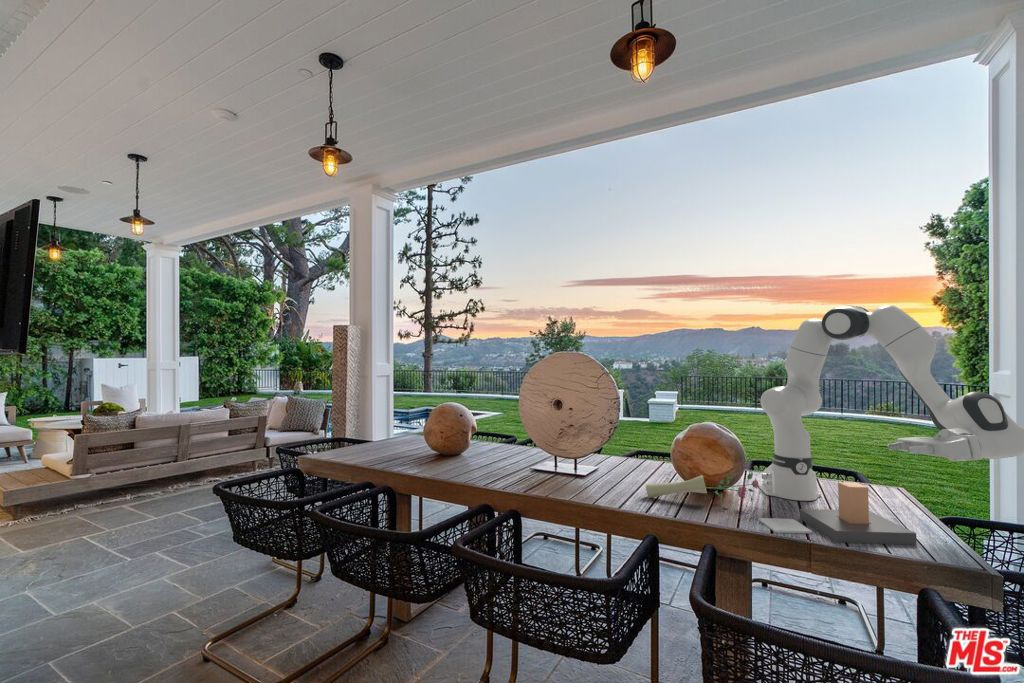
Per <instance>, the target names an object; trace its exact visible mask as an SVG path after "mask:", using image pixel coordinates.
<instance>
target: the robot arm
mask: <svg viewBox="0 0 1024 683" xmlns="http://www.w3.org/2000/svg"><path fill="white" fill-rule="evenodd" d="M865 335H866V336H870V337H872V338H873V339H874V340H876V341H877V342H878V343H879V345H881V346H882V347H883V348H884V350H885V351H886V352H887V353H888V354H889V356H891V358H892V359H893V361H894V363H896V366H897V368H898V370H899V372H900V374H901V376H902V378H903V379H904V380H905V382H906V383H907V384H908V385H909V387H910V388H911V389H912V391H913V392H914V394H915V395H916V396H917V397H918V399H919V400H920V401H921V403H922V404H923V405H924V407H925V408H926V409H927V411H928V414H929V416H930V419H931V421H932V423H933V424H934V426H935V427H936V428H937V429H938V430H939V431H938V433H937V434H935V435H934V437H929V436H928V437H927V436H911V437H899V438H897V439H896V442H893V443H887V445H886V446H887V449H888V450H889V451H898V450H899V451H902V452H907V453H908V454H910V455H911V454H912V455H913V454H914V455H915V454H921V455H927V456H934V457H939V458H945V459H947V460H948V461H950V462H967V461H968V462H969V461H981V460H983V459H987V460H988V459H989V460H995V459H996V460H997V459H998V460H999V459H1005V458H1006V459H1008V458H1015V457H1018V456H1022V455H1024V426H1022V425H1020V424H1018V423H1017V422H1015V420H1014V419H1013V418H1011V417H1010V416H1009V415H1008V413H1007V412H1006V411H1005V409H1004V406H1003V404H1002V403H1001V402H1000V400H999V399H998V398H997V397H995V396H993V395H991V394H989V393H987V392H983V391H971V392H968V393H966V394H964V395H961V396H958V397H957V398H954V399H953V398H951V397H949V395H947V393H946V392H945V390H944V389H943V388H942V387H941V385H940V384H939V383H938V382H937V380H936V379H935V378H934V376H933V374H932V372H931V367H932V366H931V365H932V361H933V359H934V356H936V350H937V343H936V341H935V339H934V338H933V337H932V335H931V334H930V333H929V332H928V331H927V330H926V328H924V327H923V326H922V325H921V324H920V323H919V322H918V321H917V320H915V318H914V317H912V316H911V315H909V314H908V313H906V312H905V311H903V310H902V309H901V308H899V307H897V306H895V305H892V304H889V305H883V306H879V307H877V308H875V309H874V310H872V311H869V310H868V309H866V308H865V307H862V306H855V305H843V306H838V307H837V306H836V307H834V308H832V309H829V310H828V311H827V312H826V313H825V314H824V316H823V317H822V319H819V318H809V319H806V320H804V321H802V322H801V324H800V326H799V327H798V329H797V331H796V333H795V335H794V337H793V340H792V341H791V342H792V343H791V345H790V347H789V351H788V354H787V357H786V359H785V363H784V369H785V371H786V372H787V374H786V375H787V382H786V385H784V386H774V387H771V388H769V389H767V390H765V391H764V392H763V393H762V394H761V396H760V401H759V402H760V407H761V409H762V410H763V411H764V413H765V414H767V416H768V418H769V421H770V423H771V426H772V431H773V439H774V440H773V441H774V452H773V453H772V456H771V457H772V459H771V460H772V461H771V464H770V465H769V466H767V467H766V468H765V469H763V472H762V473H761V476H760V477H761V479H762V480H761V481H758V486H759V487H758V488H759V489H760V490H761V491H762V492H763V493H764V495H766V496H773V497H778V498H781V499H786V500H792V501H801V502H802V501H808V502H809V501H815V500H818V498H820V497H822V493H821V492H819V490H818V489H819V488H818V483H817V482H818V481H817V473H816V472H815V471H814V470H813V462H814V461H813V457H812V456H811V435H810V432H808V431H807V430H806V427H805V426H804V423H803V419H802V417H803V416H809V415H812V414H814V413H816V412H817V411H818V410H820V409H821V407H822V404H823V398H822V395H821V393H820V377H821V373H822V370H823V367H824V365H825V362H826V359H827V355H828V353H829V350H830V348H831V345H832V343H833V342H835V340H838V341H839V340H840V341H845V340H854V339H858V338H860V337H864V336H865Z"/></svg>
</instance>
